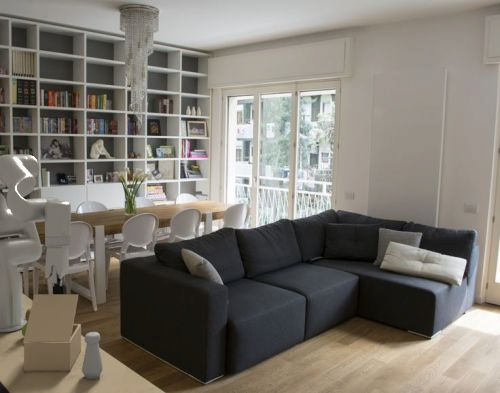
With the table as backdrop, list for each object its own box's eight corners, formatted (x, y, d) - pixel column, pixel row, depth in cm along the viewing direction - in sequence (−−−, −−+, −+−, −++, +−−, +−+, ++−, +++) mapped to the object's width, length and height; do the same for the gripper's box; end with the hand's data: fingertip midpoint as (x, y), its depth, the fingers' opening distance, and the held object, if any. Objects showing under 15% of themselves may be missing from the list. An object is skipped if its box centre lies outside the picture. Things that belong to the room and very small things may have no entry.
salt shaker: (96, 382, 139) (96, 339, 137) (78, 379, 140) (77, 336, 138) (106, 372, 144) (106, 331, 143) (88, 370, 146) (88, 328, 144)
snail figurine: (42, 333, 170) (42, 300, 169) (35, 341, 164) (34, 306, 162) (27, 333, 170) (26, 300, 168) (18, 340, 164) (18, 306, 162)
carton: (39, 351, 157) (38, 324, 156) (81, 350, 158) (81, 324, 157) (24, 372, 143) (23, 343, 142) (70, 371, 144) (70, 342, 143)
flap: (35, 295, 151) (34, 294, 150) (78, 295, 152) (78, 294, 152) (23, 342, 142) (23, 341, 141) (70, 342, 143) (69, 341, 143)
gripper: (52, 235, 158) (53, 289, 161) (38, 245, 144) (39, 305, 146) (76, 235, 159) (76, 289, 162) (64, 246, 145) (65, 305, 147)
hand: (58, 297), depth 154 cm, fingers closed
